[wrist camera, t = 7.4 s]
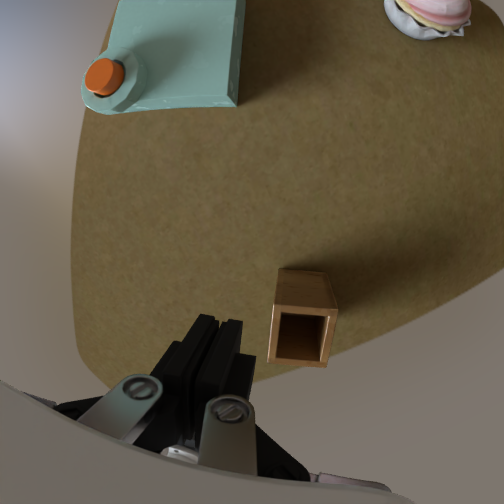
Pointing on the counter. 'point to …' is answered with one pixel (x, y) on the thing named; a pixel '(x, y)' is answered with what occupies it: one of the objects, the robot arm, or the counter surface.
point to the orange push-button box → (173, 55)
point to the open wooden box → (302, 319)
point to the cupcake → (429, 17)
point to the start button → (104, 76)
